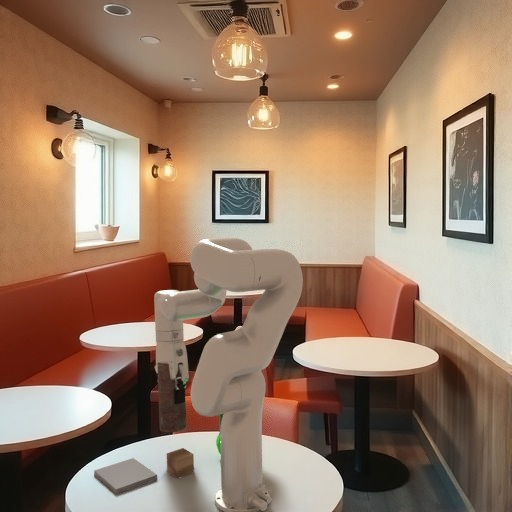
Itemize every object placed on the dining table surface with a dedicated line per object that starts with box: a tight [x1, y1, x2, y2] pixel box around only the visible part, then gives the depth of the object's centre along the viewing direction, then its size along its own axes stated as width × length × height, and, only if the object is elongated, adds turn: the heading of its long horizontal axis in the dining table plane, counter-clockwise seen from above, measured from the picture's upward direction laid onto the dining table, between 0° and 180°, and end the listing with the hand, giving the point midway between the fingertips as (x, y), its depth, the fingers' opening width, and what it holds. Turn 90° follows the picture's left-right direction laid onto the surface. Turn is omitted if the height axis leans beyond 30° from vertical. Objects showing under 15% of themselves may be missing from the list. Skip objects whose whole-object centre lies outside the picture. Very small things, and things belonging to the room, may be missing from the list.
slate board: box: [93, 457, 158, 495], centre depth 133 cm, size 13×11×1 cm
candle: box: [157, 362, 188, 433], centre depth 143 cm, size 8×7×20 cm
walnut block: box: [166, 447, 195, 480], centre depth 136 cm, size 5×5×5 cm
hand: (172, 399), depth 143 cm, fingers closed on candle, 7 cm apart
